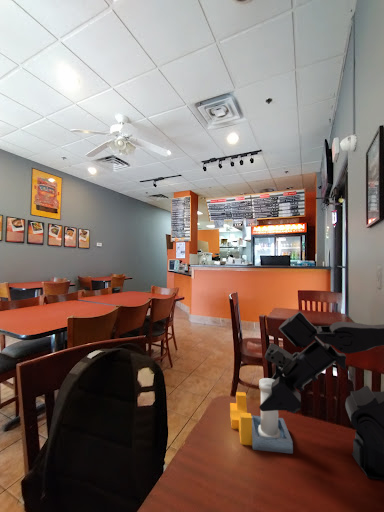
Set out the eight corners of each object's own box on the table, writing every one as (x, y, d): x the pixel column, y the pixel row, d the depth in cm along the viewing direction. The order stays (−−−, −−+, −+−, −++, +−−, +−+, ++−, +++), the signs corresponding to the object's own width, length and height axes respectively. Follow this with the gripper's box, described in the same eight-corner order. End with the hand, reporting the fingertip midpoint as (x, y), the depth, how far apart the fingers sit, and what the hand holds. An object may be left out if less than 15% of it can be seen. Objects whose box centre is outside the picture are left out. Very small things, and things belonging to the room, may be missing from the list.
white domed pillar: (281, 433, 61) (281, 381, 61) (278, 446, 56) (278, 390, 57) (260, 426, 63) (261, 376, 64) (256, 438, 59) (256, 384, 59)
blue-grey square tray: (283, 427, 64) (282, 418, 64) (292, 453, 55) (292, 442, 55) (248, 424, 65) (248, 415, 65) (252, 449, 56) (252, 438, 56)
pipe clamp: (230, 414, 70) (230, 391, 70) (245, 415, 69) (245, 392, 70) (233, 444, 58) (233, 416, 58) (251, 445, 57) (252, 418, 58)
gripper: (286, 326, 68) (247, 360, 72) (283, 346, 51) (232, 388, 55) (317, 359, 65) (274, 392, 68) (325, 392, 47) (268, 433, 51)
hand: (262, 399), depth 61 cm, fingers open, 9 cm apart
